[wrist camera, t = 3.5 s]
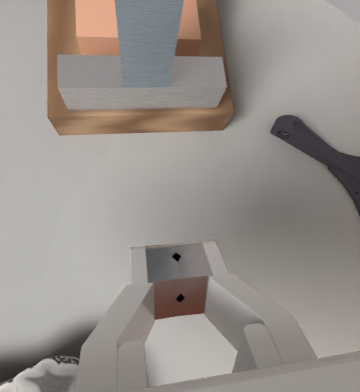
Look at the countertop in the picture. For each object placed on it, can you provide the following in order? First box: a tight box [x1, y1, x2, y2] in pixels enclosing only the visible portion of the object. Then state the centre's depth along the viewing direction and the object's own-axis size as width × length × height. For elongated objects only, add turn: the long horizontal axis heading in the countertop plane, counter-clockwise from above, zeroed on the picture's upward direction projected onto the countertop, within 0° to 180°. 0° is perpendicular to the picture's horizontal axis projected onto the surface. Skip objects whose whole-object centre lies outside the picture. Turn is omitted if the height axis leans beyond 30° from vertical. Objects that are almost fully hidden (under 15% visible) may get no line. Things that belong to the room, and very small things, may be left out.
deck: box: [47, 0, 234, 135], centre depth 23 cm, size 14×11×3 cm
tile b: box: [175, 0, 201, 56], centre depth 22 cm, size 4×4×2 cm
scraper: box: [57, 0, 227, 111], centre depth 15 cm, size 11×2×13 cm, turn 96°
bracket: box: [271, 115, 360, 214], centre depth 25 cm, size 14×15×3 cm
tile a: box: [75, 0, 120, 55], centre depth 21 cm, size 4×4×2 cm
